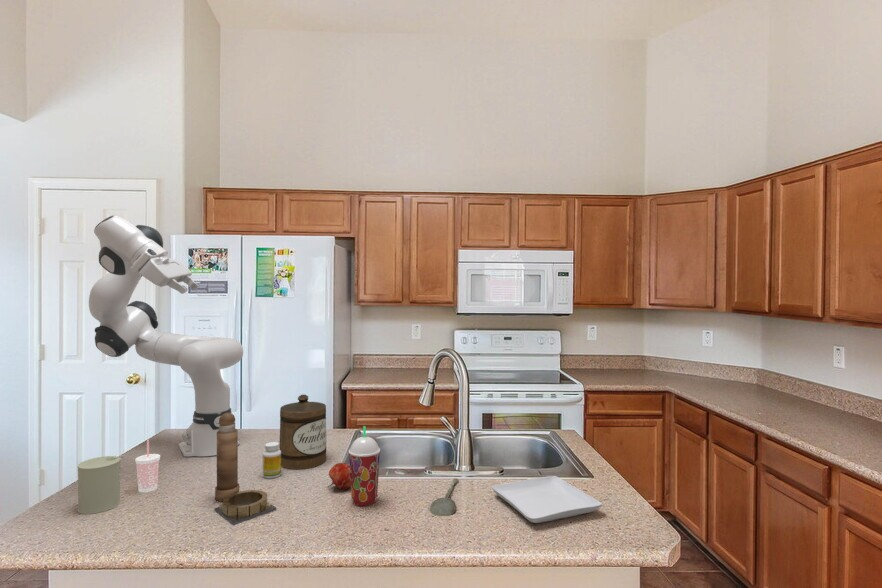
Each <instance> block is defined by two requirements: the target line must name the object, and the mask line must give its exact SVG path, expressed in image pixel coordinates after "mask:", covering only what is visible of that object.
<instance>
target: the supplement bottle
mask: <svg viewBox="0 0 882 588" xmlns="http://www.w3.org/2000/svg"><path fill="white" fill-rule="evenodd" d="M279 444H280V442H279V441H278V442H277V441H271V442H266V444H265V445H264V451H263V453H262V477H263V478H264V479H275V478H278V477H280V476H281V475H282V466H281V451H280V450H279Z"/></svg>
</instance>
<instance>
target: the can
mask: <svg viewBox="0 0 882 588" xmlns="http://www.w3.org/2000/svg"><path fill="white" fill-rule="evenodd" d="M76 467H77V490H78V491H77V513H79V514H82V515H94V514H99V513H103V512H104V513H105V512H107V511H109V510H112V509H114V508H117V507H118V506H119V505H120V504H121V502H122V500H121V457H119V456H117V455H116V456H114V455H112V456H111V455H108V456H107V455H106V456H99V457H94V458H89V459H86V460H84V461H82V462H79V463H78V464H77V466H76Z"/></svg>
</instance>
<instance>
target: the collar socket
mask: <svg viewBox="0 0 882 588" xmlns="http://www.w3.org/2000/svg"><path fill="white" fill-rule="evenodd" d="M273 511H277V507H276V506H275V505H273V504H272V503H271V502H269V501H268V493H267V492H265V491H263V490H258V489H249V490H248V489H247V490H242V491H241V490H240V491H239V492H237V493H234V494H232V495H229V496H228V497H226V498H225V499H224V501H223V502H222V503H221V504H220V505H219V506H218V507H214V512H216V513H217V514H218V513H219V514H218V515H220V516H221V517H222V518H224V519H225V520H226V521H227V522H228V523H230V524H231V525H233V526H234V525H238V524H241V523H243V522H246V521H249V520H251V519H254V518H257V517H260V516H263V515H265V514H268V513H271V512H273Z"/></svg>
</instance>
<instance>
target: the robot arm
mask: <svg viewBox="0 0 882 588" xmlns="http://www.w3.org/2000/svg"><path fill="white" fill-rule="evenodd" d="M93 232H94V235H95V236H96V237H97V239H98V242H99V245H100V250H99V252H98V263H99V264H100V266H101V267H102V268H103V269H104V270H105V271H107V272H108V273H106V274H105V275H103V276H102V277H101V278H99V279H97V281H96V282H95V283H94V284H93V286H92V287H91V289H90V294H89V296H88V308H89V313H90V315H91V316H92V317H93V318H94V319H95V320H96V321H98V322H99V326H96V327H95V328H94V332H95V334H94V345H95V347H96V348H97V349H98V350H99V351H100V352H101V353H102V354H104V355H107V356H108V357H112V358H118V357H121V356H123V355H124V354H126V353H128V351H129V349H131V347H133V346H134V345H135V346H134V347H135V348H134V349H135V352H136V353H137V355H138V356H140V357H141V358H143V359H145V360H148V361H151V362H153V363H154V362H155V363H159V364H163V365H169V366H170V365H171V366H177V367H180V368H181V370H182V371H183V372H185V373H186V374H187V375H188V376H189V378H190V379H191V382H192V385H193V388H194V389H193V391H194V404H195V405H194V408H195V409H194V411H193V414H192V423H191V424H190V425H189V427H187V429H185V430H186V431H185V432H183V433H182V436H181V437H182V441H181V442H179V443H178V448H179V449H180V451H181V453H182V455H183V457H185V458H186V457H211V456H217V431H219V424H220V423H219V419H220V417H221V416H222V415H223V414H224V413H231V414H233V413H232V408H231V388H230V385H229V384H228V383H226V382H225V381H224V380H223V378H222V374H221V370H222V369H223V370H224V369H227V368H230V367H232V366H234V365H236V364H237V363H239V362H240V361H241V360H242V359H243V356H244V347H243V345H242V343H241V342H240V341H239V340H237V339H234V338H229V337H228V338H227V337H215V336H203V335H186V334H179V333H172V332H164V331H163V332H162V331H158V330H156V329H157V328H158V327H159V321H158V317H157V313H156V311H155V309H154V307H152V305H150V304H149V303H147V302H145V301H141V300H140V301H139V300H135V301H134V300H133V301H132V302H130V299H131V298H132V296H133V294H134V292H135V290H136V288H137V286H138V284H139V282H140V280H141V279H142V277H143V278H144V279H146V280H148V281H149V282H150V283H152V284H153V285H156V286H158V287H160V288H163V287H165V286H167V287H169V288H171V289H172V290H176V291H177V292H179V294H182V295H183V294H186V293H187V291H188V288H187V287H186V286H185V285H182V284H181V283H184V284H186V285H187V286H189V288H190V289H191V290H192V291H196V290H197V289H198V288H199V287H200V286H199V284H198V283H196V282H195V280H193V278H192V277H191V275H192V274H193V272H192V271H191V270H190V269H189V268H188V267H186V266H185V265H184V264H182V263H181V262H179V261H178V260H176V259H174V258H172V257H168V250H166V249H165V248H164V241H163V240H164V239H163V236H162V234H161V233H160V232H159V231H158V230H157V229H155V228H154V227H151V226H149V225H143V224H137V225H135V224H132V223H131V222H130V221H128V220H127V219H125V218H124V217H121V216H119V215H111V216H108V217H106V218H105V219H103V220H101V221H100V222H99V223H98V224H96V225H95V227H94V230H93ZM129 302H130V303H129ZM240 444H241V443H240V441H239V440H238V446H239V445H240Z"/></svg>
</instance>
